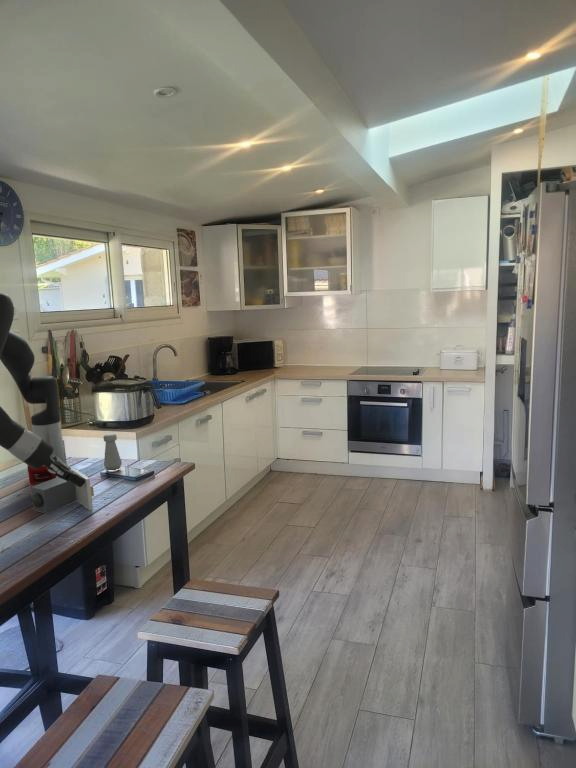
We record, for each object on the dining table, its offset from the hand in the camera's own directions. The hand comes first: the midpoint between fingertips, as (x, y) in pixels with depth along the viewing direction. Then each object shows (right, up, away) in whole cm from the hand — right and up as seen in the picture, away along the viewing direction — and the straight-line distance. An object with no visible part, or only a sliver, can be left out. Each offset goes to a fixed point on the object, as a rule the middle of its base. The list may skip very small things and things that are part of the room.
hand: (82, 483), depth 157 cm
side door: (-1, -7, +5) cm, 9 cm away
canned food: (-17, -6, +15) cm, 24 cm away
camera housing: (-10, -7, +6) cm, 14 cm away
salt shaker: (-3, -2, +36) cm, 36 cm away
